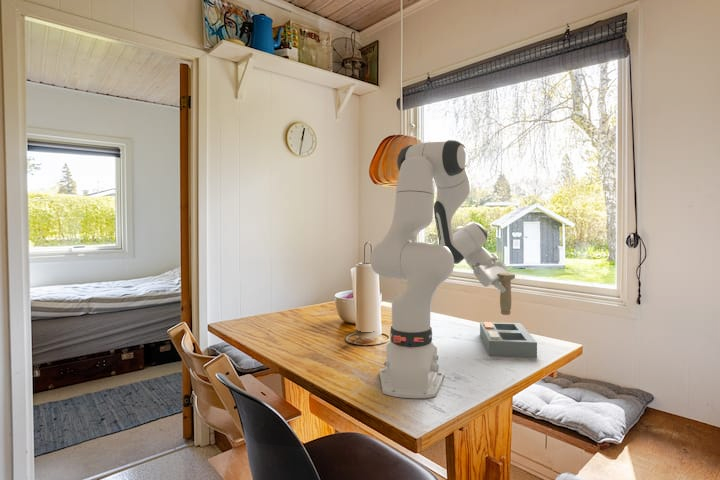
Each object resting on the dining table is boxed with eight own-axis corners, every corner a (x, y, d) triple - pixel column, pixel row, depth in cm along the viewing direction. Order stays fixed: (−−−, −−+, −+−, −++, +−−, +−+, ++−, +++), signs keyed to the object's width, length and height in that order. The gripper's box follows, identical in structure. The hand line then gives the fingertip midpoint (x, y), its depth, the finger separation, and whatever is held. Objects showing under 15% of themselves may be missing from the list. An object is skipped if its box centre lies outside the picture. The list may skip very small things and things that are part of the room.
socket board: (536, 357, 130) (537, 340, 130) (488, 355, 133) (488, 338, 132) (520, 336, 154) (520, 321, 153) (480, 334, 156) (480, 320, 156)
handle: (509, 317, 144) (510, 275, 143) (494, 313, 149) (494, 273, 148) (517, 314, 147) (517, 274, 146) (501, 311, 152) (501, 272, 151)
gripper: (476, 259, 144) (503, 289, 138) (497, 254, 159) (522, 281, 154) (464, 270, 147) (490, 300, 141) (486, 265, 162) (511, 291, 157)
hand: (507, 290), depth 147 cm, fingers closed on handle, 3 cm apart
